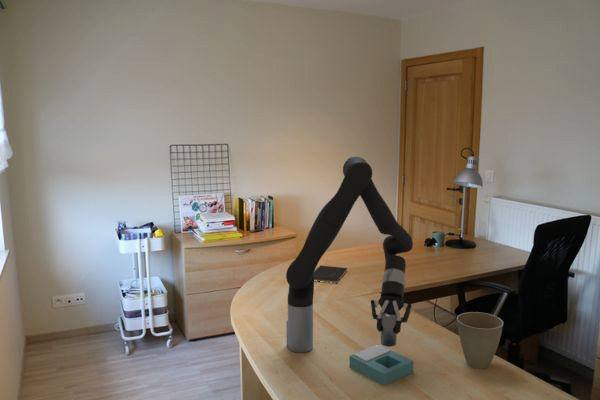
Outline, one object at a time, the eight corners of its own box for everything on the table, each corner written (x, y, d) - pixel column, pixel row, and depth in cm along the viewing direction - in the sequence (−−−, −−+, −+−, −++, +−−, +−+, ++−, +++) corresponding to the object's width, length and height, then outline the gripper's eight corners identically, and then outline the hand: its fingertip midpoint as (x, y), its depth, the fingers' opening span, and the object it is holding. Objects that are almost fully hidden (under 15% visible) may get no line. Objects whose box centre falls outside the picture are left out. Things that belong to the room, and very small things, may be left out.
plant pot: (490, 353, 183) (492, 311, 181) (508, 374, 169) (511, 328, 166) (449, 354, 183) (451, 312, 180) (463, 374, 168) (465, 329, 166)
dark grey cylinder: (377, 342, 169) (378, 314, 167) (388, 338, 172) (388, 310, 170) (389, 347, 165) (389, 318, 163) (399, 343, 168) (400, 314, 166)
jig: (349, 366, 174) (349, 354, 173) (377, 354, 183) (378, 342, 182) (384, 385, 162) (384, 372, 161) (413, 372, 170) (413, 359, 170)
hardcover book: (347, 272, 281) (347, 268, 281) (336, 285, 260) (336, 280, 259) (319, 269, 286) (319, 265, 286) (307, 281, 265) (307, 277, 264)
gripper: (371, 278, 174) (364, 325, 165) (414, 281, 170) (410, 330, 161) (373, 288, 180) (367, 334, 171) (414, 291, 176) (411, 339, 166)
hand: (388, 332), depth 166 cm, fingers closed on dark grey cylinder, 5 cm apart
